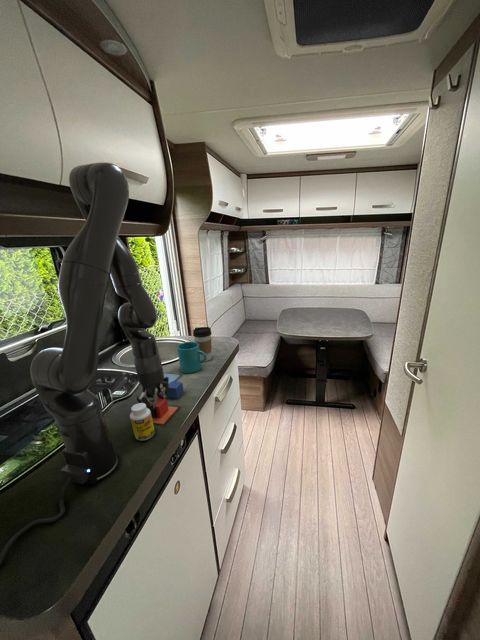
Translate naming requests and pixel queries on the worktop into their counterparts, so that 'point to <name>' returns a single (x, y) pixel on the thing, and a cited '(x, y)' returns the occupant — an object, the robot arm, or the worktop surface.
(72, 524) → the worktop surface
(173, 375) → the blue coaster
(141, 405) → the supplement bottle
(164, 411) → the red block
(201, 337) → the coffee cup
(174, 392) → the blue block
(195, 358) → the cup
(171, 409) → the orange coaster
